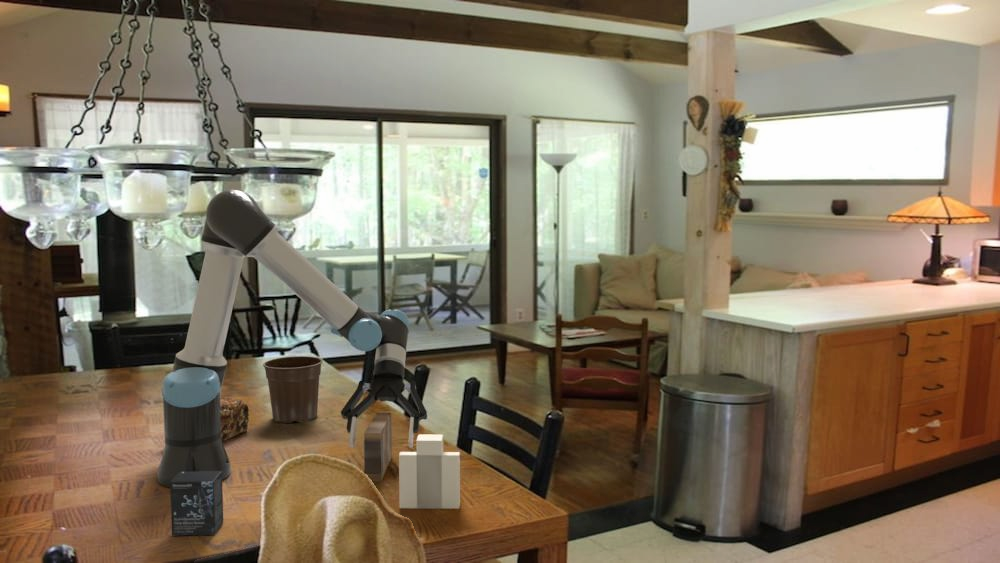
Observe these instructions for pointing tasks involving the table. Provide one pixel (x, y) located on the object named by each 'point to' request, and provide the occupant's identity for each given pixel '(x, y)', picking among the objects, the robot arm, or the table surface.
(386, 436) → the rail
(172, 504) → the box
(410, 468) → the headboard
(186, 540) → the table surface
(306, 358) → the plant pot
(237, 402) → the bread
